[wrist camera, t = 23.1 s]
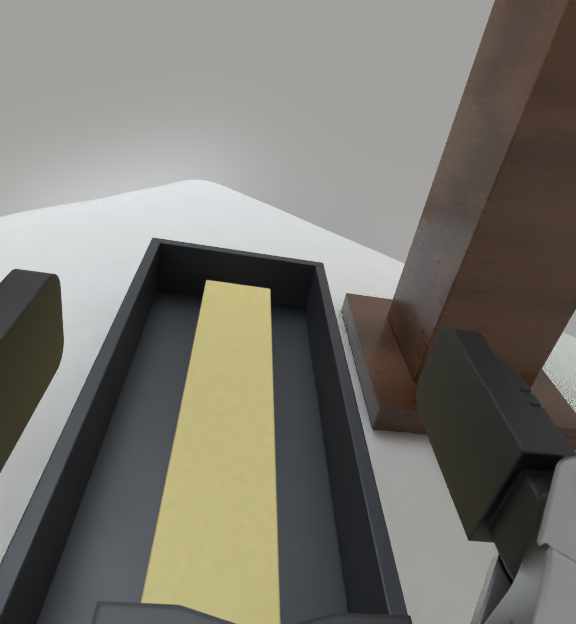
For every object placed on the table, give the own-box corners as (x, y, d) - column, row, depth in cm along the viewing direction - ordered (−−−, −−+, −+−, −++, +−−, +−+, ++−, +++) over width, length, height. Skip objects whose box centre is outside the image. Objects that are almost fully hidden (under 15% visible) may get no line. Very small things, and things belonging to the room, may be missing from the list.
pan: (388, 795, 14) (438, 736, 12) (-46, 795, 12) (-78, 728, 10) (310, 314, 35) (323, 262, 33) (149, 292, 34) (152, 237, 31)
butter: (262, 689, 15) (281, 635, 13) (132, 686, 14) (134, 629, 13) (262, 332, 31) (270, 288, 29) (201, 324, 30) (206, 279, 29)
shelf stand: (586, 464, 27) (1381, -640, 10) (376, 443, 25) (903, -914, 8) (487, 323, 39) (775, -290, 22) (339, 303, 37) (528, -377, 20)
